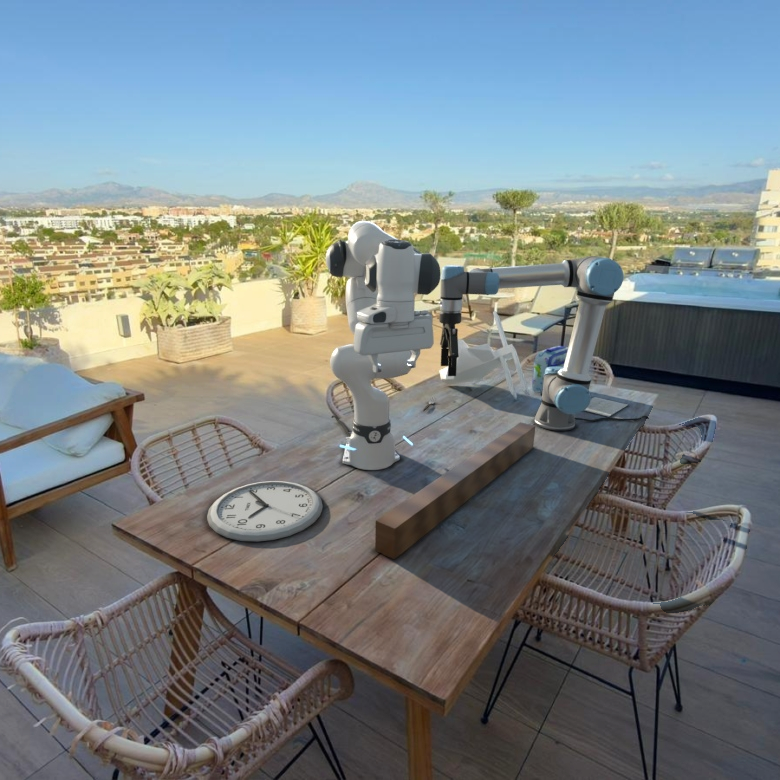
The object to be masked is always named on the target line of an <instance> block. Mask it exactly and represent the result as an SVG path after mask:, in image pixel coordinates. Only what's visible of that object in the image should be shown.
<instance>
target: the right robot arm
mask: <svg viewBox="0 0 780 780" xmlns="http://www.w3.org/2000/svg"><path fill="white" fill-rule="evenodd" d="M464 269H465V268H464V266H463V265H454V264H453V265H451V264H450V265H444V266H442V268H441V276H440V295H439V296H440V299H439V300H440V301H438V305H439V310H440V312H439V323H441V324H442V328H441V329H442V330H441V334H440V335H441V336H440V343H439V345H440V348H441V349H440V367H448V376H456V365H457V357H459V354H458V337H459V336H458V332H459V329H458V328H456V325H459V324H461V323H462V312H461V311H463V295H477V296H478V295H479V296H480V295H482V296H493V295H494V296H495V295H497V294H498V293H499V290H501V289H516V288H518V289H519V288H531V287H548V286H562V287H564V288H577V291H576V298H577V299H578V300H579V301H578V302H579V303H578V306H577V311H576V313H575V319H574V323H573V327H572V331H571V335H570V339H569V343H568V346H567V347H568V351H567V355H566V359H565V363H564V367H547V368H546V369H545V373H544V382H543V392H542V393H541V402H540V405H539V407H538V410H537V411H536V413H535V416H534V424H535V426H537V427H539V428H542V429H544V430H549V431H556V432H567V431H572V430H574V429H575V428H576V421H584V422H591V423H593V422H598V421H602V420H610V421H611V420H612V421H640V420H642V419H644V418H645V419H647V420H650V418H649V416H648V415H642V416H640V417H637V418H621V417H620V418H619V417H616V418H615V417H599V418H596V419H589V418H583V417H576V416H575V415H578V414H581V413H582V412H585V411H584V410H585V409H586V408H587V407H588V406H589V404H590V401H591V399H592V396H591V392H590V386H591V382H592V376H591V375H590V373H589V372H590V368H591V364H592V361H593V356H594V353H595V350H596V346H597V342H598V338H599V333H600V330H601V328H602V327H601V326H602V324H603V319H604V314H605V311H606V308H607V306H608V305H609V304H611V303H612V302H613V300H614V297H615V293H616V292H617V291H619V290H620V288H621V287H622V284H623V282H624V271H623V268H622V267H621V265H620V264H619V263H618V262H617V261H616V260H613V259H612V258H609V257H601V256H595V255H591V256H583V257H580V258H574V259H564V260H563V261H562V262H559V263H545V264H533V265H532V264H531V265H517V266H505V267H503V266H502V267H491V268H490V267H489V268H479V267H476V268H473V269H471V270H469V271H465V270H464Z"/></svg>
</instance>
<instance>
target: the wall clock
mask: <svg viewBox="0 0 780 780" xmlns="http://www.w3.org/2000/svg"><path fill="white" fill-rule="evenodd" d="M323 507H324V506H323V501H322V498H321V497H320V495H318V492H316V491H314V490H312V489H311V488H310V487H308V486H306V485H302V484H299V483H297V482H291V481H281V480H269V481H268V480H267V481H258V482H253V483H248V484H245V485H242V486H239V487H235V488H233V489H232V490H229V491H228V492H226V493H224V494H223V495H221V496H220V497H219V498H217V499H216V500H215V501H214V502H213V503H212V504H211V505H210V507H209V509H208V512H207V514H206V515H207V516H206V520H207V523H208V525H209V527H210V528H211V529H212V530H213V531H214V532H215V533H216V534H218V535H220V536H223V537H224V538H227V539H231V540H236V541H239V542H240V541H241V542H258V543H259V542H264V541H265V542H267V541H276V540H278V539H283V538H287V537H290V536H293V535H295V534H298V533H301V532H302V531H305V529H308V528H309V527H310V526H311V525H313V524H314V523H315V522H316V521H317V520H318V519H319V518H320V516H321V514H322V511H323Z"/></svg>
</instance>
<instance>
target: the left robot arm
mask: <svg viewBox="0 0 780 780" xmlns="http://www.w3.org/2000/svg"><path fill="white" fill-rule="evenodd" d="M325 265H326V268H327V270H328V273H329V274H330V275H331V276H332V277H335V278H343V277H344V278H348V280H347V282H346V284H345V307H346V314H347V315H346V316H347V321H348V328H349V331H350V332H351V333H352V335H353V343H350V344H345V345H341V346H337V347H336V348H335V349H334V350H333V351H332V353H331V355H330V359H329V367H330V369H331V370H330V371H331V372H332V373H333V375H334V376H335V378H337V379H338V380H340V381H341V382H343V383H344V384H345V386H347V388H348V389H349V391H350V393H351V396H352V400H353V412H354V413H353V414H354V417H353V418H354V419H353V421H352V431H349V429H348V427H347V426H346V425H345V424H344V423H343V422H342V421H341V420H340V418H338V416H337V415H336V414H332V416H331V418H332V419H333V418H334V419H335V420H336V421H337V422H338V423H339V425H341V427H342V428H343V429H344V430H345V432H346V433H347V435H348V436H346V437H345V445H343V444H339V448H342V449H344V453H343V457H342V464H344V465H347V466H351V467H353V468H357V469H360V470H365V471H378V470H384V469H387V468H389V467H391V466H393V464H394V463H396V462H398V461H400V460H401V456H400V455H399V454H398V453H397V452H396V437H395V436H394V434H393V433H391V427H392V423H391V419H390V397H389V395H388V394H387V393H386V392H385V391H384V390H381V389H380V388H377V387H375V386H373V385H372V380H379V379H394V378H395V379H396V378H398V377H402V376H406V375H408V374H409V373H410V371H412V369H415V368H416V367H417V361H418V359H419V357H420V355H421V350H429V349H431V348H432V347H433V345H434V341H435V339H434V327H433V323H434V316H433V314H432V313H431V312H429V311H428V309H427V310H425V309H424V310H415V305H416V304H415V302H416V299H415V294H416V295H422V296H423V295H425V296H429V295H430V294H431V293H432V292H433V291H434V290H436V288H437V287H438V286H439V284H440V283H441V273H442V271H441V266H440V263H439V261H438V260H437V259H436V258H435V256H434V255H432V254H431V253H430V252H428V253H425V252H424V253H423V252H420V251H419V250H417V248H415V247H414V246H413V243H411V242H410V241H407V240H404V239H403V240H402V239H399V238H396V237H394V236H392V235H390V234H389V233H387V232H385V230H383V229H382V228H380V227H379V226H378V225H377V223H374V222H371V221H369V220H359V221H356V222H355V223H354V224H353V225H352V226H351V227H350V228H349V230H348V235H347V240H342V239H341V238H340V239H338V241H335V242H333V243H332V244H331V245H330V246H328V247H327V250H326V254H325ZM402 439H404V440H405V442H407V443H408V444H409V445H411V446H414V444H413V442H412V441H410V439H408V438H407V437H406V436H405V435H403V436H402Z"/></svg>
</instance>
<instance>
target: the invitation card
mask: <svg viewBox="0 0 780 780" xmlns="http://www.w3.org/2000/svg"><path fill="white" fill-rule="evenodd" d="M628 406H629V404H627V403H623V402H618V401H614V400H609V399H605V398H601V397H596V396H593V397H591V401H590V404H589V406H588V407H587V408H586V409H585V410H584V411H583V412H587V413H593V414H596V415H600V416H604V417H607V418H610V417H612V416H613V415H614V414H616V413H617V412H619V411H621V410H623V409H624V408H626V407H628Z"/></svg>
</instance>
